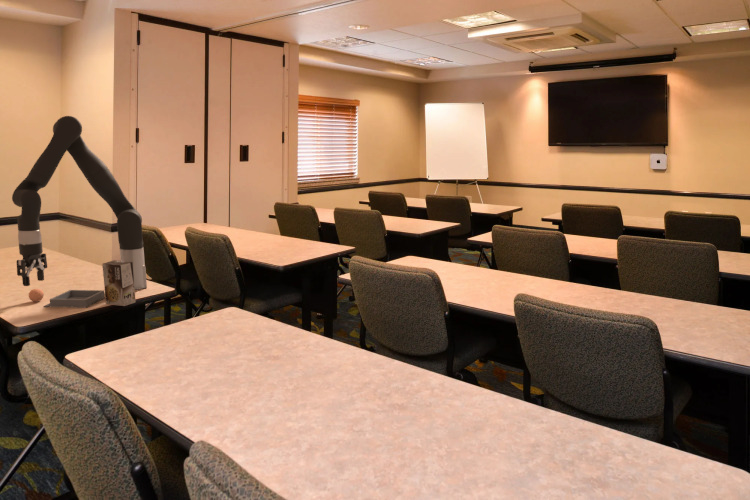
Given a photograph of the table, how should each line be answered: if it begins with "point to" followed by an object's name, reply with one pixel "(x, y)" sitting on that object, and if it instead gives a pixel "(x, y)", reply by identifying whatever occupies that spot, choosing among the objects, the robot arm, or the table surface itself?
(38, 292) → the ball
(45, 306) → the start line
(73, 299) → the bin
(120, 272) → the coffee box
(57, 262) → the table surface
